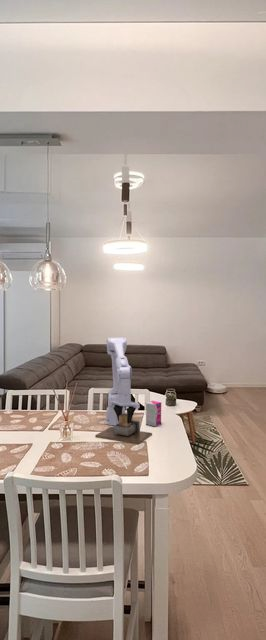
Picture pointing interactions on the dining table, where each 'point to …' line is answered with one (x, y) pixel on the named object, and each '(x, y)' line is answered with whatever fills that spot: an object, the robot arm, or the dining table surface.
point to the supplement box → (153, 413)
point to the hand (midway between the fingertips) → (124, 422)
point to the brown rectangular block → (124, 420)
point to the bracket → (125, 433)
